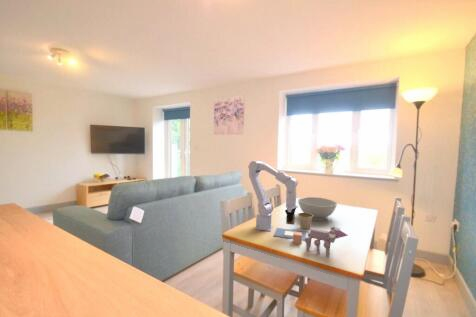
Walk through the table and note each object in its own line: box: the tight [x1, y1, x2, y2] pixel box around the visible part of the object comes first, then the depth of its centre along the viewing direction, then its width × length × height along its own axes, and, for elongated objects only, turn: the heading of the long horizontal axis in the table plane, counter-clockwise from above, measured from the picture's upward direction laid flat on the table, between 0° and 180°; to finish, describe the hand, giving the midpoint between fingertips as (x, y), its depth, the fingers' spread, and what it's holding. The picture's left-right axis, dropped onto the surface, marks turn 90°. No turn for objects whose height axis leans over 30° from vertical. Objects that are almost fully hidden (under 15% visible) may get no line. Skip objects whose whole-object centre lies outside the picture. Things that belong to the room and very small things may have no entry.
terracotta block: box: [292, 232, 303, 245], centre depth 130 cm, size 4×4×5 cm
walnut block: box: [285, 213, 296, 226], centre depth 140 cm, size 4×4×5 cm
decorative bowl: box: [297, 196, 338, 221], centre depth 172 cm, size 27×27×12 cm
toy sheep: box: [304, 226, 349, 258], centre depth 118 cm, size 20×11×14 cm, turn 58°
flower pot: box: [297, 212, 313, 230], centre depth 151 cm, size 9×9×9 cm
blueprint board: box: [273, 227, 307, 242], centre depth 141 cm, size 18×13×1 cm
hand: (290, 220), depth 140 cm, fingers closed on walnut block, 4 cm apart
